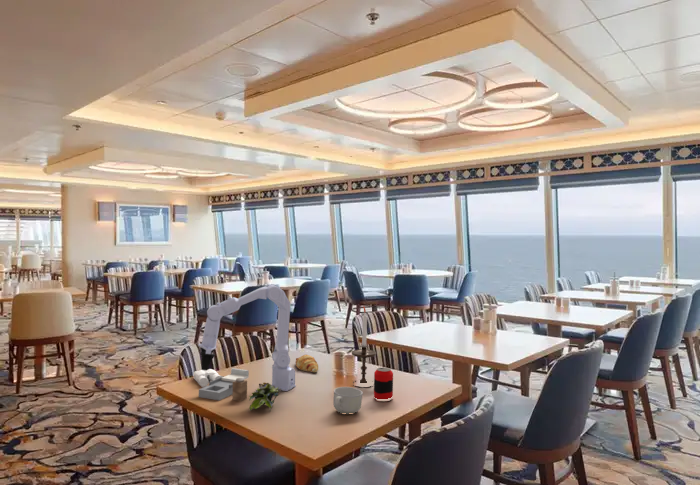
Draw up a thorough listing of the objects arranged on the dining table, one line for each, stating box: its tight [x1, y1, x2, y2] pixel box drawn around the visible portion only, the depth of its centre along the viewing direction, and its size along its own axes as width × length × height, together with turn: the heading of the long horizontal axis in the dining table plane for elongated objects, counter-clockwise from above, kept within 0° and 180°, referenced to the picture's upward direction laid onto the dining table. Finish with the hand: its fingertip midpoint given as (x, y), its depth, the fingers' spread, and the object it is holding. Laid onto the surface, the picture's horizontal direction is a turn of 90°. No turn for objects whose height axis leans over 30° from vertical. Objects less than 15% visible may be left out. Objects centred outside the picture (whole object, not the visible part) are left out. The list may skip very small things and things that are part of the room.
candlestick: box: [351, 306, 377, 383], centre depth 215 cm, size 11×11×35 cm
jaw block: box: [232, 378, 248, 402], centre depth 192 cm, size 4×4×8 cm
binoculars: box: [193, 368, 223, 388], centre depth 216 cm, size 10×16×5 cm, turn 31°
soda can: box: [373, 367, 394, 399], centre depth 195 cm, size 8×8×12 cm
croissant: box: [295, 354, 319, 373], centre depth 240 cm, size 21×10×8 cm, turn 33°
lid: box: [221, 367, 250, 382], centre depth 208 cm, size 8×8×3 cm
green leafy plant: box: [248, 382, 282, 412], centre depth 182 cm, size 11×11×12 cm
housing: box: [198, 375, 233, 401], centre depth 199 cm, size 11×16×4 cm, turn 158°
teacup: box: [332, 386, 364, 414], centre depth 179 cm, size 14×11×8 cm
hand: (204, 367), depth 198 cm, fingers open, 7 cm apart
